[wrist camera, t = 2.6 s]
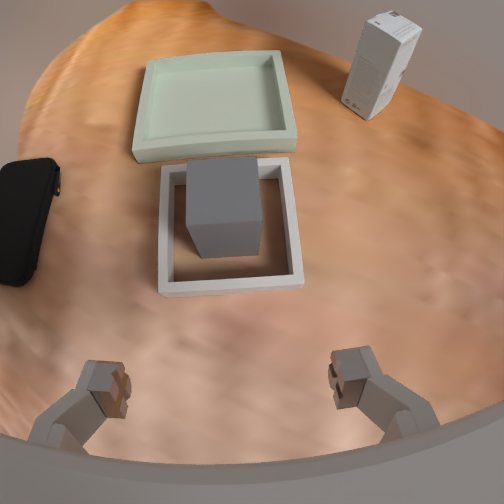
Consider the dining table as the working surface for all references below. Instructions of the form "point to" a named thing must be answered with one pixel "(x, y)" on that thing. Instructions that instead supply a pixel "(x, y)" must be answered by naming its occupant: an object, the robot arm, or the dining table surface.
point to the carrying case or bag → (24, 215)
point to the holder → (293, 281)
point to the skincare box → (379, 63)
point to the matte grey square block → (224, 206)
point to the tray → (214, 107)
